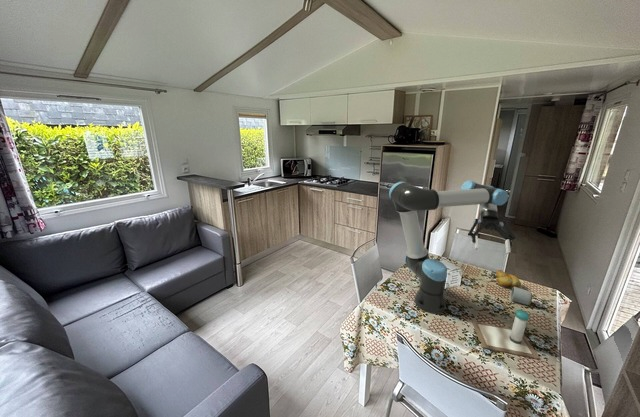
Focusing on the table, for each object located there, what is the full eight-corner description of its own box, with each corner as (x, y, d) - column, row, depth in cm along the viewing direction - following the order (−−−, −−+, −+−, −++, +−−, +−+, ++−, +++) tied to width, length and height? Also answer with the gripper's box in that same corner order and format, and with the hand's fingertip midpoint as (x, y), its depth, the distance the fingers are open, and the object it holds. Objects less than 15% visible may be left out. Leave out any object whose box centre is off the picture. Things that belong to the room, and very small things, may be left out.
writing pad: (482, 348, 106) (483, 346, 106) (472, 322, 121) (472, 320, 121) (539, 359, 101) (539, 358, 101) (521, 331, 116) (521, 329, 116)
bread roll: (517, 283, 153) (520, 271, 151) (524, 292, 145) (527, 280, 142) (493, 279, 158) (495, 268, 155) (497, 288, 149) (500, 275, 147)
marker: (511, 342, 108) (518, 315, 104) (507, 335, 112) (514, 308, 108) (523, 345, 107) (531, 317, 103) (519, 337, 111) (526, 310, 107)
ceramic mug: (530, 308, 131) (534, 295, 129) (511, 303, 135) (514, 290, 133) (527, 298, 140) (530, 285, 138) (509, 293, 144) (512, 281, 142)
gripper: (513, 218, 133) (518, 257, 123) (460, 213, 140) (461, 249, 130) (520, 211, 126) (526, 251, 117) (464, 206, 133) (465, 244, 124)
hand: (492, 250), depth 123 cm, fingers open, 13 cm apart
